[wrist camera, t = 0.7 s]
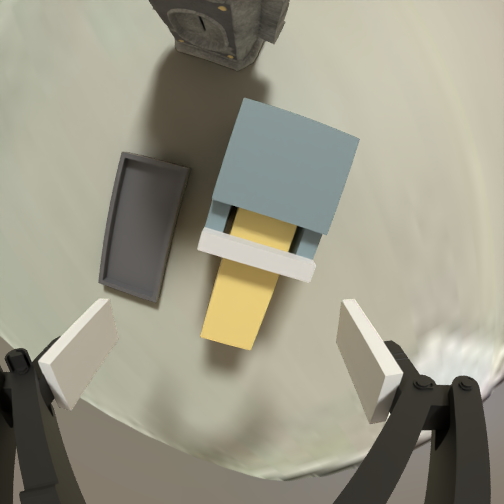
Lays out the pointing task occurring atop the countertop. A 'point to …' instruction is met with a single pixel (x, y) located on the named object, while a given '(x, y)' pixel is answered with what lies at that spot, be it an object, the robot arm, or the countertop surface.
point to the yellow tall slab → (245, 283)
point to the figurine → (223, 27)
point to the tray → (141, 224)
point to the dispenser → (279, 186)
